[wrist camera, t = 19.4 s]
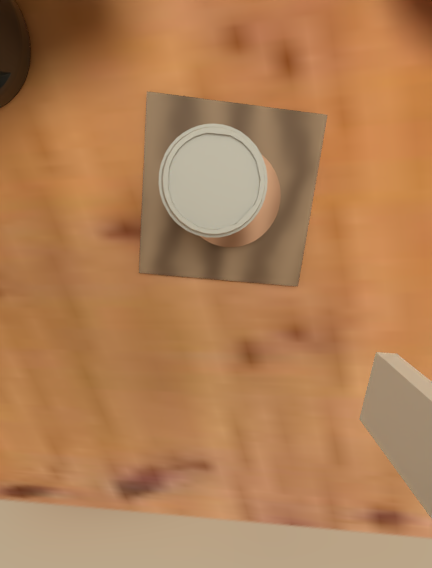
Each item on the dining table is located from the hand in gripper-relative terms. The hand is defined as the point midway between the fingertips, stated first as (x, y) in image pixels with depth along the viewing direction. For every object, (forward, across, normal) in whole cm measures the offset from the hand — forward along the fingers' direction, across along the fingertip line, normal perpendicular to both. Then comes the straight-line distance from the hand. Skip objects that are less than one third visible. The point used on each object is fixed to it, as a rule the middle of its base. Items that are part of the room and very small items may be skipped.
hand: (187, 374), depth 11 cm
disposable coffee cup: (+31, +1, +7) cm, 32 cm away
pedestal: (+35, +4, +6) cm, 35 cm away
